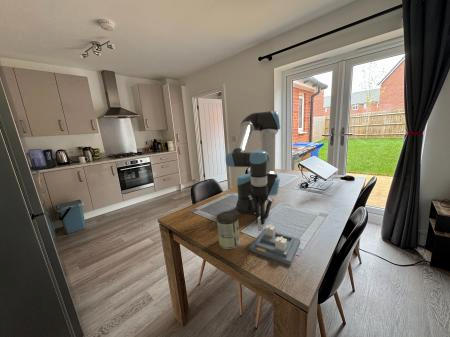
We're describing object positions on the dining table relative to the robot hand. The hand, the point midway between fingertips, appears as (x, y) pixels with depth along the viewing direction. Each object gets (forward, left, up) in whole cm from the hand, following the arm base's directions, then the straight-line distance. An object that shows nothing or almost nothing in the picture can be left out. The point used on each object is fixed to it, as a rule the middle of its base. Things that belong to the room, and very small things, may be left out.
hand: (260, 229), depth 90 cm
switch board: (+9, -3, -5) cm, 10 cm away
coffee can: (-12, -11, -5) cm, 17 cm away
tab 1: (+5, 0, -2) cm, 5 cm away
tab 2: (+12, -7, -2) cm, 14 cm away
